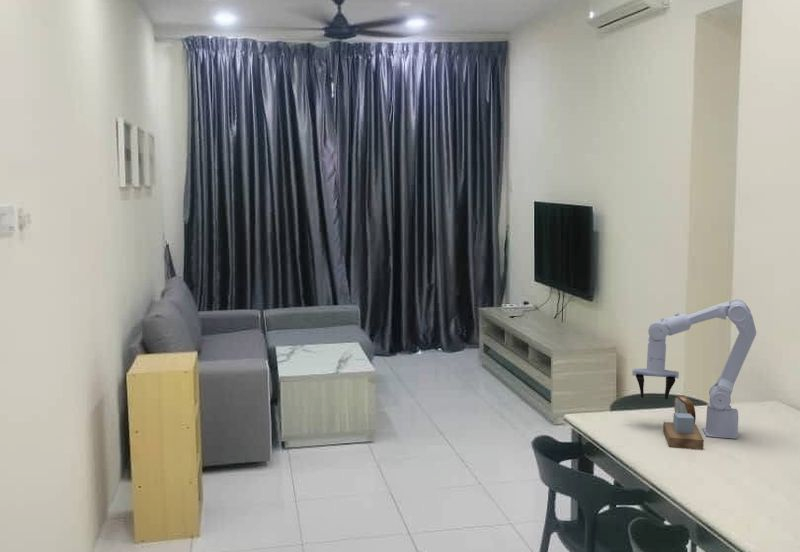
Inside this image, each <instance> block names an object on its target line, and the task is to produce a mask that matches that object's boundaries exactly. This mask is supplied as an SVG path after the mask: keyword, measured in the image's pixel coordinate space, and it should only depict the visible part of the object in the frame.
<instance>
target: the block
mask: <svg viewBox="0 0 800 552" xmlns="http://www.w3.org/2000/svg"><path fill="white" fill-rule="evenodd" d="M672 423H673V429H674V430H675V431H676V432H677V433H688V434H693V432H694V417H693V416H692V415H691V414H689V413H675V412H673V422H672Z"/></svg>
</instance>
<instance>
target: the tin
mask: <svg viewBox="0 0 800 552" xmlns="http://www.w3.org/2000/svg"><path fill="white" fill-rule="evenodd" d="M695 409H696V408H695V405H694V403H693V401H691V400H690V399H689V398H688V397H687V396H686V395H684V394H682V395H675V397H674V410H673V411H674V413H689V414H691V415H692V416H693V417H694V424H696V419H697V418H696V410H695Z"/></svg>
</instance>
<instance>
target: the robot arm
mask: <svg viewBox="0 0 800 552" xmlns="http://www.w3.org/2000/svg"><path fill="white" fill-rule="evenodd" d="M727 317H728V319H729V321H731V322H732V324H734V325H735V327H736V329H737V331H738V332H739V333H738V334H737V337H736V339H735V342H734V343H733V346H732V349H731V351H730V352H729V355H728V357H727V360H726V362H725V364H724V366H723V369H722V371H721V373H720V376H719V377H718V378H717V381H716V383H715V384H714V385H712V386H711V387H710V389H709V394H708V395H709V403H707V406H706V420H705V427H702V431H703V432H704V434H705V436H706V437H708V438H709V437H710V438H723V439H724V438H725V439H734V440H735V439H737V440H738V432H739V411H738V409H737V408H733V407H732V405H731V401H732V400H731V399H732V397H731V395H732V393H733V389H734V385H735V383H736V381H737V378H738V376H739V374H740V372H741V369H742V367H743V365H744V363H745V360H746V358H747V356H748V354H749V351H750V350H751V349H750V348H751V347H752V344H753V342H754V340H755V338H756V336H757V329H756V326H755V321H754V318H753V314H752V311H751V309H750V308H749V306H748V305H747V303H746V302H744V300H742V299H733V300H731V301H724V302H721V303H718V304H714V305H713V306H709V307H706V308H704V309H701V310H699V311H696V312H694V313H691V314H686V313H684V312H682V313H679V312H676V313H674V315H673V316H669V317H667V318H664V317H662V318H660V320H655V321H653V322H651V323H650V326H649V328H648V336H649V337H648V344H647V355H646V356H647V357H646V358H647V359H646V368H632V373H631V375H632V376H635V378H636V380H637V383H638V387H639V392H640V397H641V398H644V397H645V396H644V387H645V377H657V378H659V377H660V378H665V391H664V400H668V399H669V394H670V392H671V391H672V390H671V389H672V388H673V386H674V385H675V382H676V379H679V378H680V376H679V375H680V372H679V371H677V370H670V369H666V355H667V344H666V340H667V339H666V338H667V336H674V335H676V334H677V335H678V334H680V333H683V332H686V331H689V330H690V328H691V327H692V325H695V324H698V323H702V322H705V321H709V320H714V319H716V318H717V319H721V320H725V321H727Z"/></svg>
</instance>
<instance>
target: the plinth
mask: <svg viewBox="0 0 800 552" xmlns="http://www.w3.org/2000/svg"><path fill="white" fill-rule="evenodd" d="M662 432H663V434H664V438H665V440H666V443H667V445H668V447H669V448H676V449H677V448H678V449H679V448H680V449H689V448H691V449H690V450H702V449H703V450H704V438H703V436H702V434H701V432H700V430H699V428H698V426H697V424H696V423H695V424H694V432H693V434H688V433H677V432H676V431H675V430H674V429H673V422H668V421H667V422H666V421H664V422H663V429H662Z"/></svg>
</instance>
